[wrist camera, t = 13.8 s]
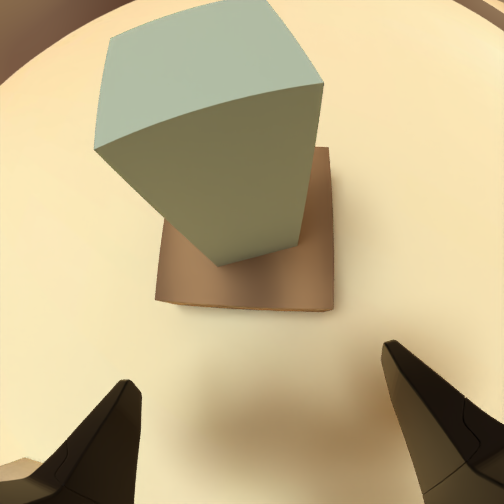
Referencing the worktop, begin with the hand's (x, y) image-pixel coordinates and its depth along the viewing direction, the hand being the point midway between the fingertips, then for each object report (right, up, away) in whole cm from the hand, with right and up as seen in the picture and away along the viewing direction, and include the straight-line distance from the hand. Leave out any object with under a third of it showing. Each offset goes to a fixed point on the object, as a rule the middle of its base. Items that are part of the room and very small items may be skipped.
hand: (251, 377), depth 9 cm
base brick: (0, +5, +13) cm, 14 cm away
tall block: (0, +6, +9) cm, 11 cm away
